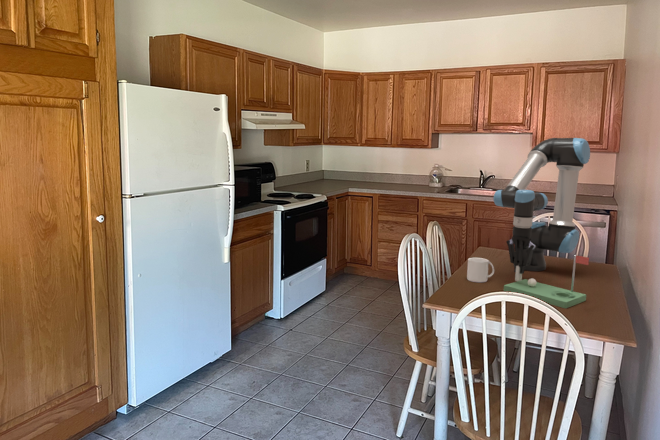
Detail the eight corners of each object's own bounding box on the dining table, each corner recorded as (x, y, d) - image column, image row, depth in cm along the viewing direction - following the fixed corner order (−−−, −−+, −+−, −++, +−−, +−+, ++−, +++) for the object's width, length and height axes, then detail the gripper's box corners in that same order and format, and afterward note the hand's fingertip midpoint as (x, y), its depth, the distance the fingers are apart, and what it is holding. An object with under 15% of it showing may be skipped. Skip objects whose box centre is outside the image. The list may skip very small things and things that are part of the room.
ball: (525, 286, 209) (526, 278, 209) (530, 284, 211) (530, 276, 211) (533, 288, 207) (533, 280, 206) (537, 286, 209) (538, 278, 208)
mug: (467, 282, 224) (469, 261, 222) (465, 276, 232) (467, 257, 231) (495, 283, 222) (496, 263, 220) (492, 277, 230) (493, 258, 229)
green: (503, 290, 211) (503, 285, 210) (524, 284, 220) (524, 279, 220) (565, 308, 190) (566, 302, 189) (585, 300, 199) (586, 294, 199)
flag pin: (569, 297, 203) (573, 254, 200) (570, 296, 204) (574, 254, 201) (584, 301, 199) (588, 257, 196) (585, 300, 199) (589, 257, 196)
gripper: (503, 225, 213) (500, 278, 217) (531, 229, 202) (527, 285, 206) (513, 223, 217) (509, 275, 221) (541, 227, 207) (537, 282, 211)
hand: (518, 280), depth 214 cm, fingers closed
